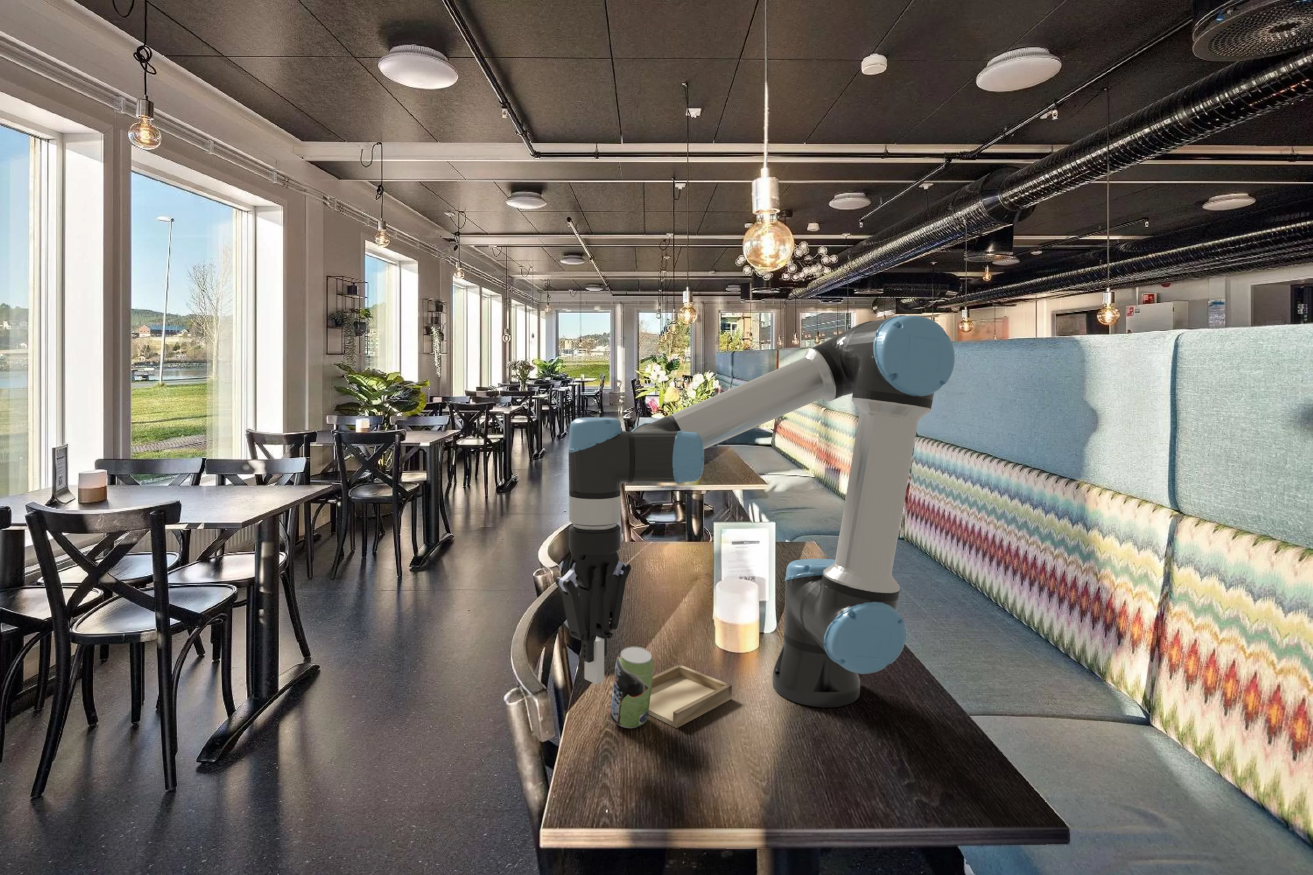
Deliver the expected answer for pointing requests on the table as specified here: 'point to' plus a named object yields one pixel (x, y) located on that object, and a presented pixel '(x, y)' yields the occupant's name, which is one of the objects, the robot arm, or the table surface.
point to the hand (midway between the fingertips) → (594, 679)
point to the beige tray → (685, 695)
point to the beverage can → (632, 687)
